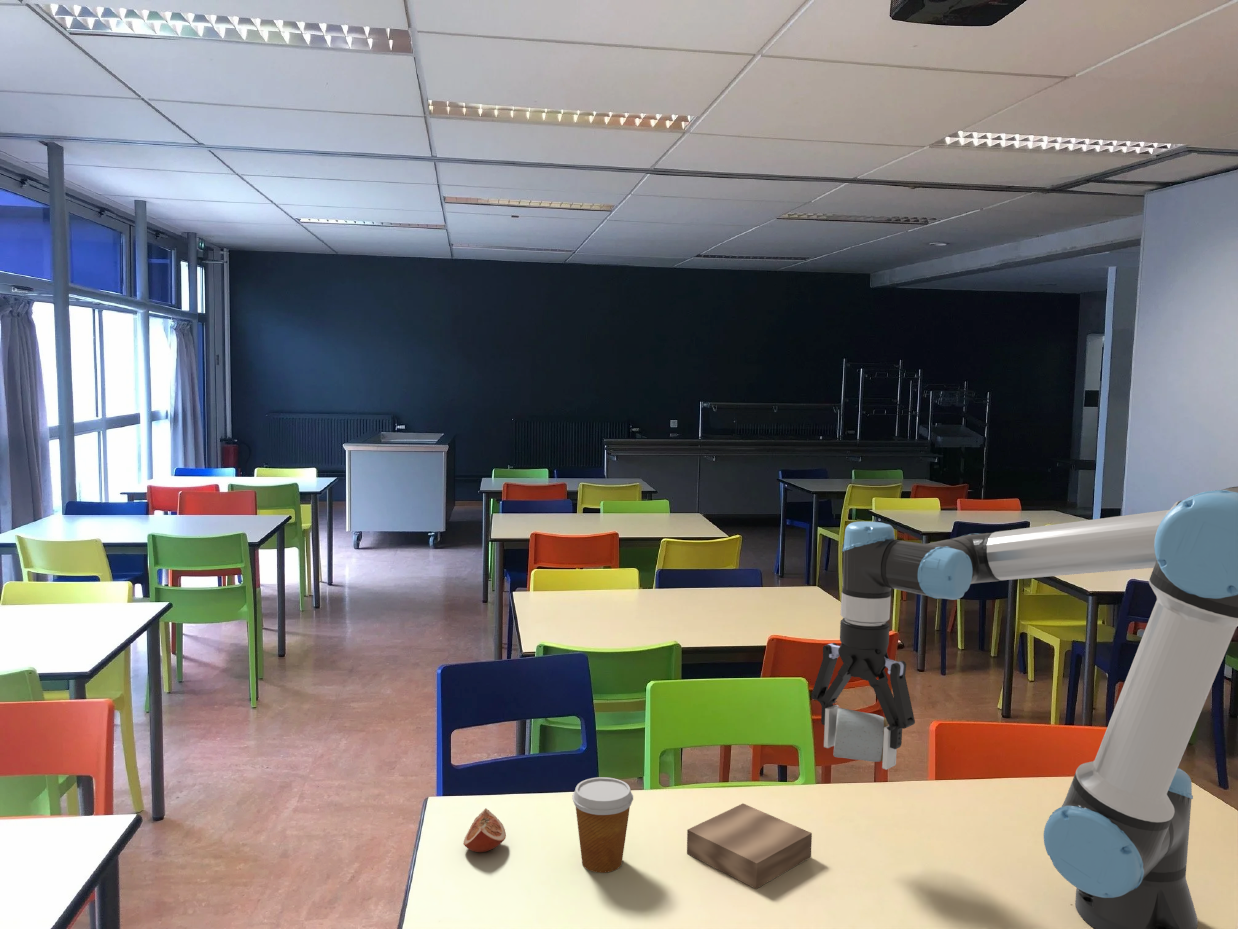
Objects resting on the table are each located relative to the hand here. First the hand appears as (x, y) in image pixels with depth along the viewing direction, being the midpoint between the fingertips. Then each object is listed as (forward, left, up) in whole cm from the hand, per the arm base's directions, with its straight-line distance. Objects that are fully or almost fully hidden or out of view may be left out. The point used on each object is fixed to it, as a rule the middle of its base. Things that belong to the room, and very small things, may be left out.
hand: (859, 755), depth 148 cm
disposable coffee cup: (+25, +33, -16) cm, 44 cm away
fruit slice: (+41, +44, -16) cm, 62 cm away
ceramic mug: (+1, -1, 0) cm, 1 cm away
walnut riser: (+11, +14, -16) cm, 24 cm away
